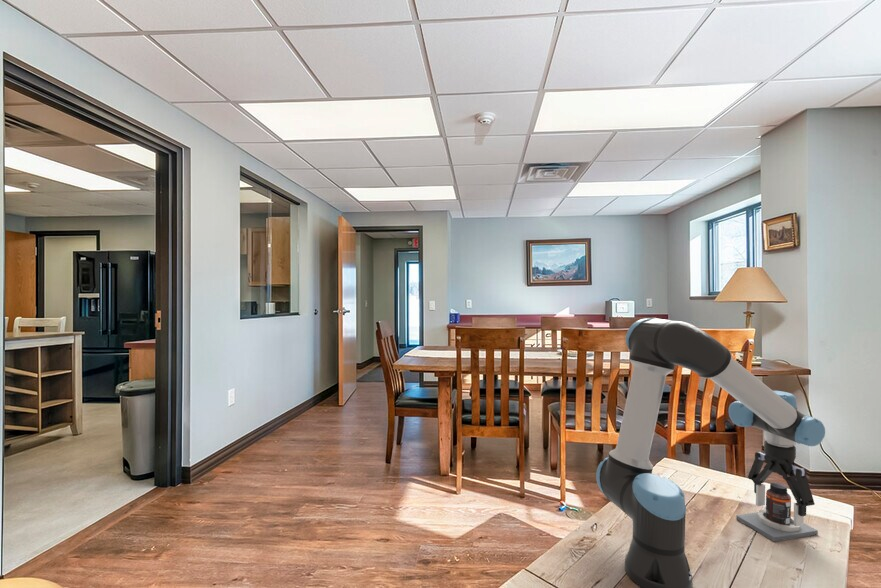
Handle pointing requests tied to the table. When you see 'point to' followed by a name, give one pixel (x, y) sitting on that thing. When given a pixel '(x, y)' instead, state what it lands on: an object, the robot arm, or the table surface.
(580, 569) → the table surface
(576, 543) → the table surface
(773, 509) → the supplement bottle
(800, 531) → the hub board
